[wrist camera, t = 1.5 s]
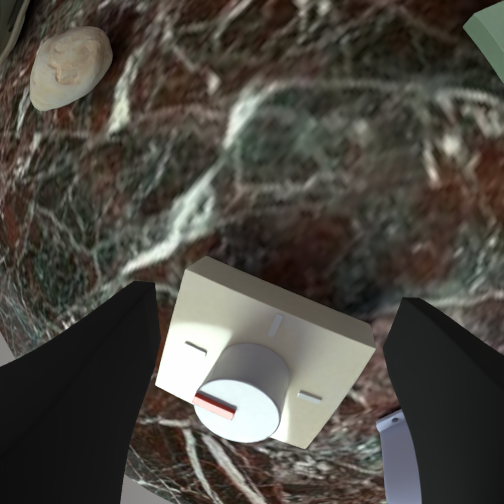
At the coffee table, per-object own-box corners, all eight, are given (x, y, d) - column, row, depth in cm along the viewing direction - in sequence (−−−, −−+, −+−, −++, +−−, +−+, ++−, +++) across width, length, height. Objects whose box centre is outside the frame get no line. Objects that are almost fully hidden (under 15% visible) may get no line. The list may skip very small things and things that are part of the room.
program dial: (303, 361, 16) (294, 405, 13) (273, 413, 18) (260, 457, 14) (228, 329, 17) (203, 367, 13) (207, 385, 18) (182, 424, 14)
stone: (106, 122, 22) (123, 53, 15) (31, 138, 18) (22, 68, 12) (98, 65, 22) (114, -3, 15) (31, 76, 19) (31, 7, 12)
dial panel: (370, 324, 18) (377, 350, 15) (309, 421, 21) (305, 451, 18) (205, 255, 19) (184, 269, 16) (173, 363, 22) (153, 386, 19)
